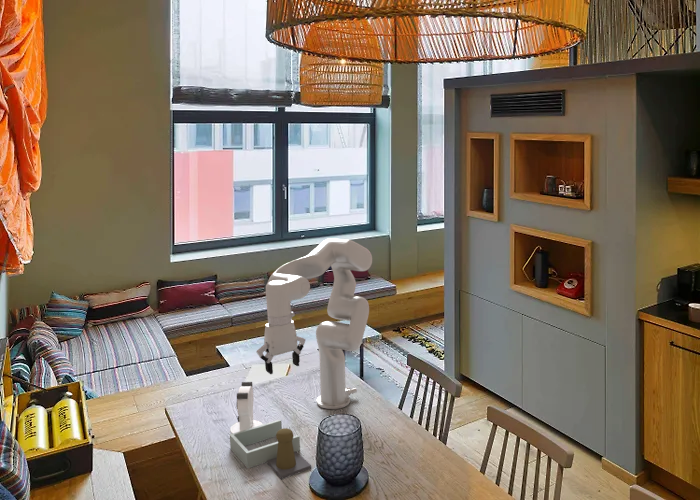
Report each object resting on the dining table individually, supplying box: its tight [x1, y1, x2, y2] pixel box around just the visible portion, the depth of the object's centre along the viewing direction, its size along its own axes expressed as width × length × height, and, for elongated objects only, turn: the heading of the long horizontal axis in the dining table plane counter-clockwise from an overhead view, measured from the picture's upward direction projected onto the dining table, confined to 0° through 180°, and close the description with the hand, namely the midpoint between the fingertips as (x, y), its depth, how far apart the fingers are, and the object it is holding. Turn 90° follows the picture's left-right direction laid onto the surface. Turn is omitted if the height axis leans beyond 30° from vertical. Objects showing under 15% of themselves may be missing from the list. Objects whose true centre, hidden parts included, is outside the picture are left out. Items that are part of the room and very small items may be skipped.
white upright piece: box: [229, 381, 264, 434], centre depth 200 cm, size 12×11×15 cm
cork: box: [275, 427, 296, 469], centre depth 176 cm, size 6×6×11 cm
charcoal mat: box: [266, 451, 312, 480], centre depth 177 cm, size 10×10×1 cm
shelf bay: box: [229, 419, 301, 469], centre depth 187 cm, size 18×14×5 cm
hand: (283, 368), depth 190 cm, fingers open, 9 cm apart
